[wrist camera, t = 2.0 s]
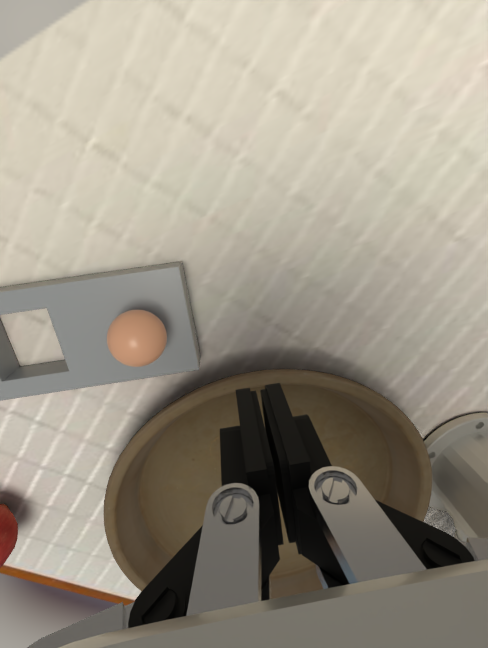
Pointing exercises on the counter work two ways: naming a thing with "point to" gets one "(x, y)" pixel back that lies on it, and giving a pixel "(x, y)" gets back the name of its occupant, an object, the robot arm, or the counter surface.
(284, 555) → the plant saucer
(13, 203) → the counter surface
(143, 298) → the block
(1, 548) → the onion
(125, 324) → the ball
